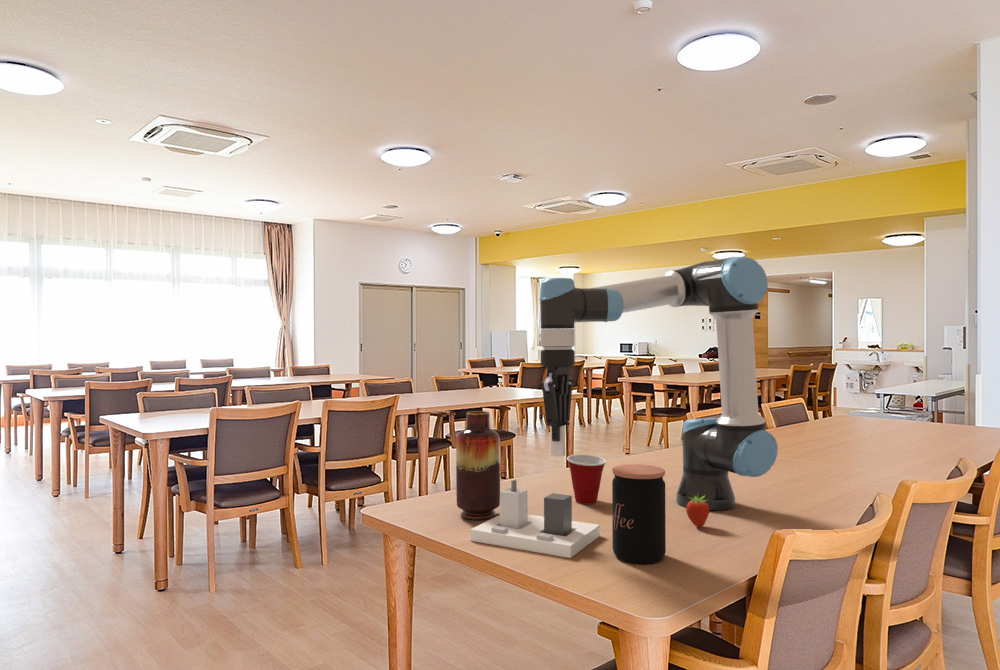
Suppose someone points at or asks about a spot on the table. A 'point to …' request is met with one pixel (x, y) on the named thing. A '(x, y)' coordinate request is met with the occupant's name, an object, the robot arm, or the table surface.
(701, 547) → the table surface
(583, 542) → the white peg board
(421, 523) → the table surface
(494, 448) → the vase
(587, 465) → the plastic cup
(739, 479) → the table surface
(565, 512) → the dark grey block
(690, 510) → the fruit
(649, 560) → the coffee jar
